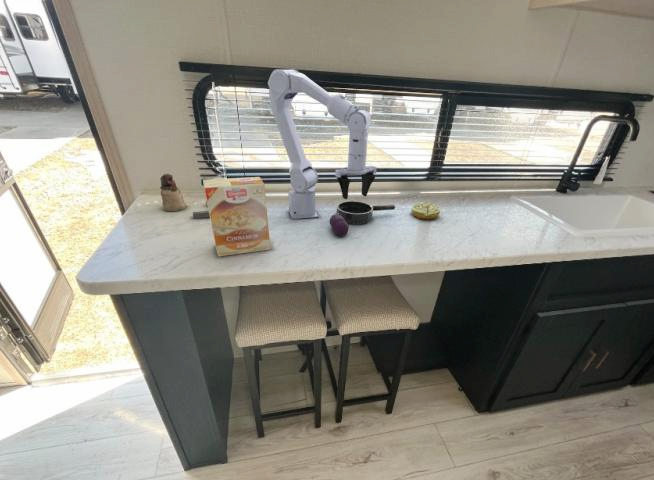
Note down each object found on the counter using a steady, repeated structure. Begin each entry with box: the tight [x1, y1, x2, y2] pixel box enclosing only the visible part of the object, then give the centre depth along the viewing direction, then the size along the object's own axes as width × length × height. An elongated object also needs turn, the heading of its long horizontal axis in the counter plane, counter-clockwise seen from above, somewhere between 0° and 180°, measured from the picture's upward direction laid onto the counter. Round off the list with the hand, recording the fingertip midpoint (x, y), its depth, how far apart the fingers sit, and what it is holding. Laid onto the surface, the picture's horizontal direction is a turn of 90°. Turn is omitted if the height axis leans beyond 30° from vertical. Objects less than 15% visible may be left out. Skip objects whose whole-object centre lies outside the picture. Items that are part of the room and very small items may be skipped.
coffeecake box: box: [202, 176, 271, 258], centre depth 93 cm, size 15×7×20 cm, turn 114°
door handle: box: [192, 200, 210, 219], centre depth 118 cm, size 3×20×16 cm
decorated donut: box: [410, 201, 441, 220], centre depth 127 cm, size 10×11×4 cm
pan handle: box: [371, 204, 396, 212], centre depth 124 cm, size 10×2×2 cm, turn 108°
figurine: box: [159, 172, 186, 212], centre depth 116 cm, size 7×7×12 cm
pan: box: [336, 200, 374, 225], centre depth 121 cm, size 13×13×4 cm
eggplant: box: [329, 213, 350, 237], centre depth 111 cm, size 12×5×5 cm, turn 18°
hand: (354, 196), depth 112 cm, fingers open, 7 cm apart
